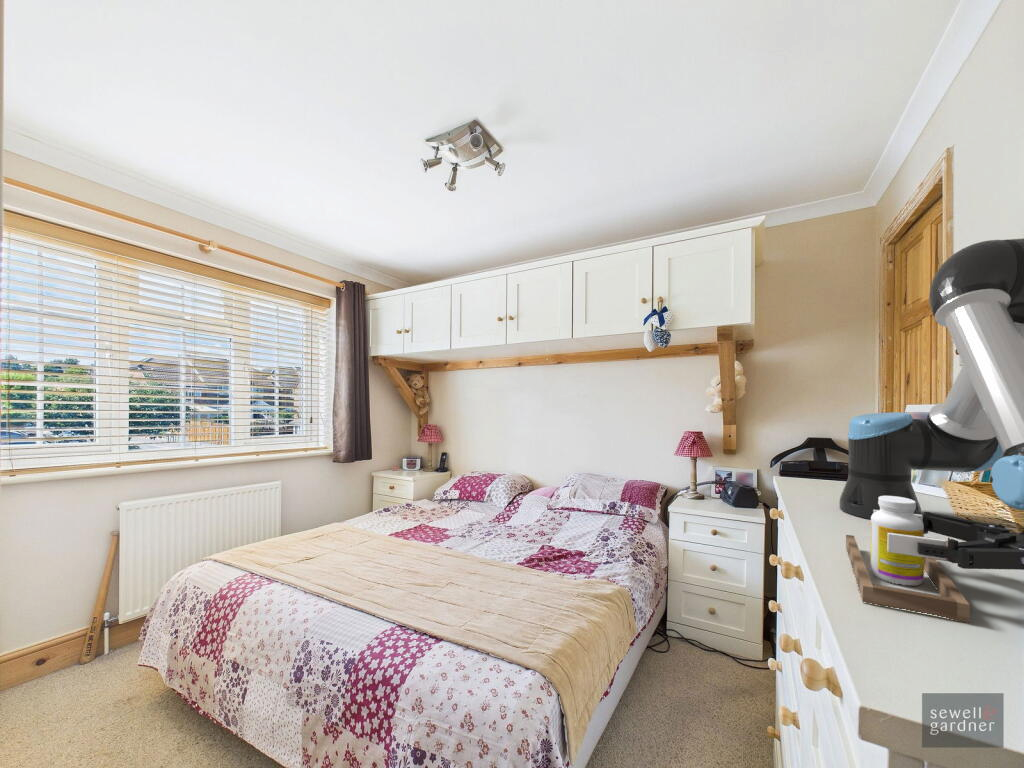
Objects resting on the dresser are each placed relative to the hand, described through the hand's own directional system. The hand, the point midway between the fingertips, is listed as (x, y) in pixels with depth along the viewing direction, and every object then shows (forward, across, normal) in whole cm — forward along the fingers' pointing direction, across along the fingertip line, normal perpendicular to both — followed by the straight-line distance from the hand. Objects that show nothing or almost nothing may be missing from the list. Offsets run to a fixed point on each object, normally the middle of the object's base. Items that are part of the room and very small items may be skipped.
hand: (879, 529), depth 77 cm
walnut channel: (-2, 0, -8) cm, 8 cm away
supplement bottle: (-2, 0, -8) cm, 8 cm away
